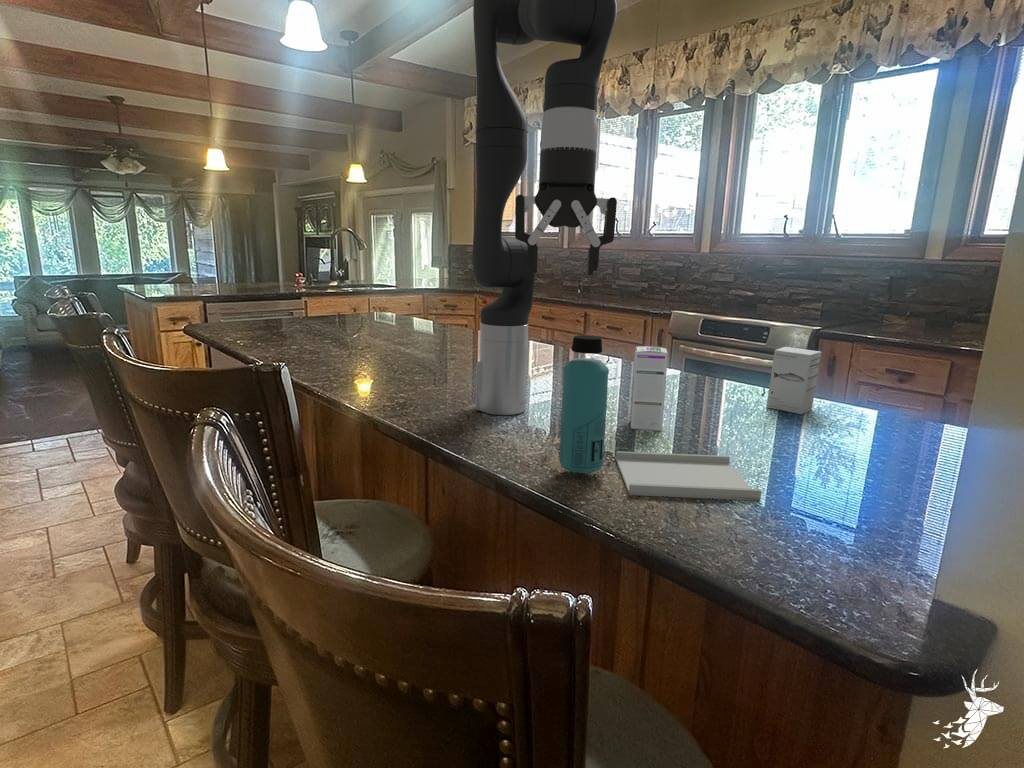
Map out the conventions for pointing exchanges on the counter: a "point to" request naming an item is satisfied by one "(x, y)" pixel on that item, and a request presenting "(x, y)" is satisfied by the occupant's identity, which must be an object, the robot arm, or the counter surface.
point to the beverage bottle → (584, 408)
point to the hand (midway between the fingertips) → (562, 273)
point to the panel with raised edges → (683, 476)
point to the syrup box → (649, 388)
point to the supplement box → (793, 379)
